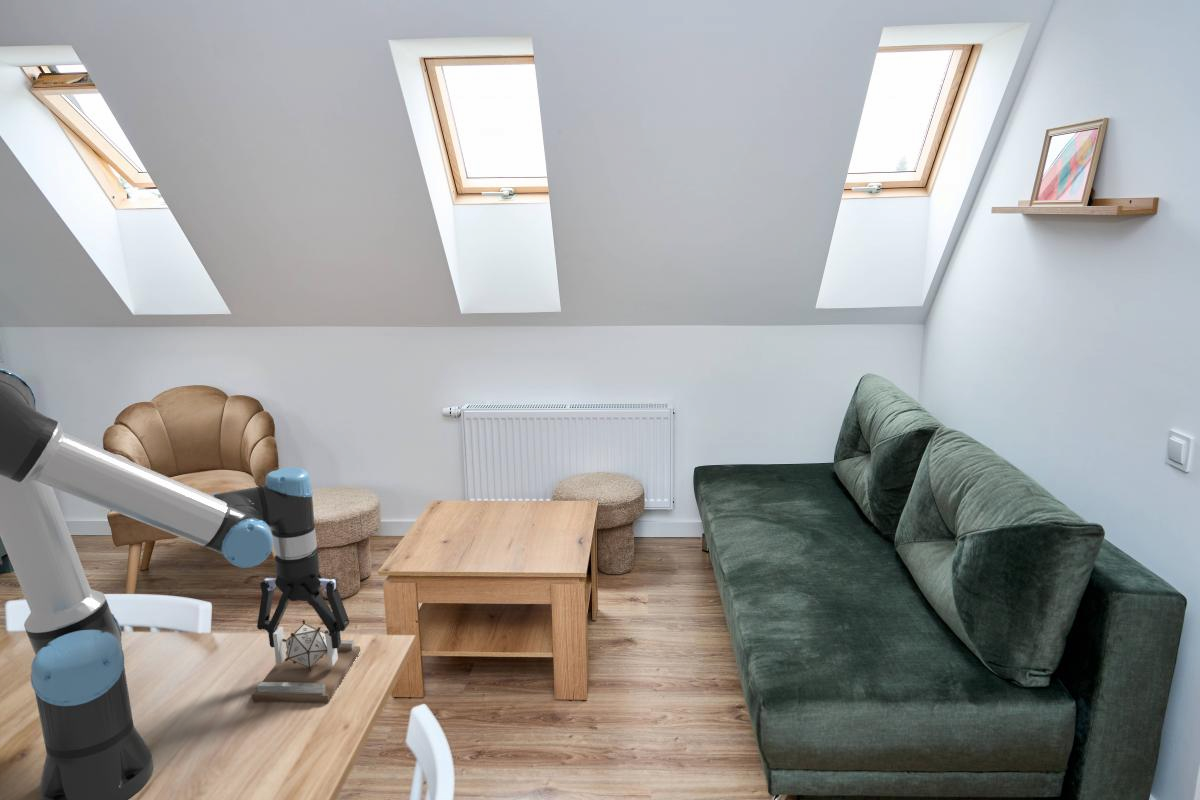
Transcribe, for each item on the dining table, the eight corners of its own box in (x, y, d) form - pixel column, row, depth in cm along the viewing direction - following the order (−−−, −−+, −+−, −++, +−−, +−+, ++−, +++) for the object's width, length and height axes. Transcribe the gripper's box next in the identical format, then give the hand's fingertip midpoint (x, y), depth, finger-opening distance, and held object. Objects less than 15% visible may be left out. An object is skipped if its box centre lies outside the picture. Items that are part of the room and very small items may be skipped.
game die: (321, 680, 161) (348, 644, 159) (283, 685, 154) (310, 647, 152) (303, 644, 166) (329, 608, 163) (265, 647, 159) (291, 609, 157)
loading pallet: (328, 703, 152) (326, 688, 151) (252, 701, 152) (250, 686, 152) (360, 653, 168) (359, 639, 168) (292, 651, 169) (290, 638, 168)
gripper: (361, 544, 157) (371, 652, 163) (246, 543, 159) (259, 650, 164) (347, 561, 150) (357, 674, 155) (227, 559, 152) (241, 671, 157)
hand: (307, 662), depth 160 cm, fingers closed on game die, 9 cm apart
